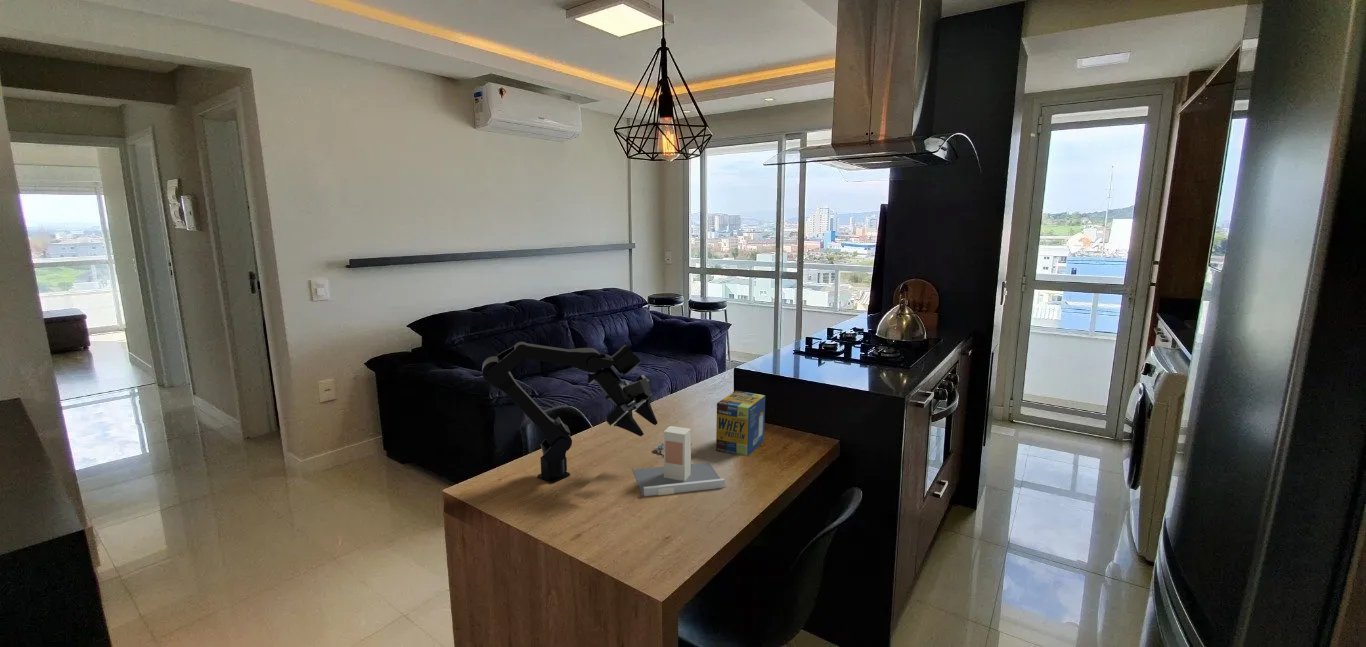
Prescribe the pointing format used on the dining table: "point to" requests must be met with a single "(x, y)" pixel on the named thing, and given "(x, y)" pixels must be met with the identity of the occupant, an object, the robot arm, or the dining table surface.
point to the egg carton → (660, 448)
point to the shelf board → (656, 484)
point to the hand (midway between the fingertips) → (649, 429)
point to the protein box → (740, 423)
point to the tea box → (677, 453)
